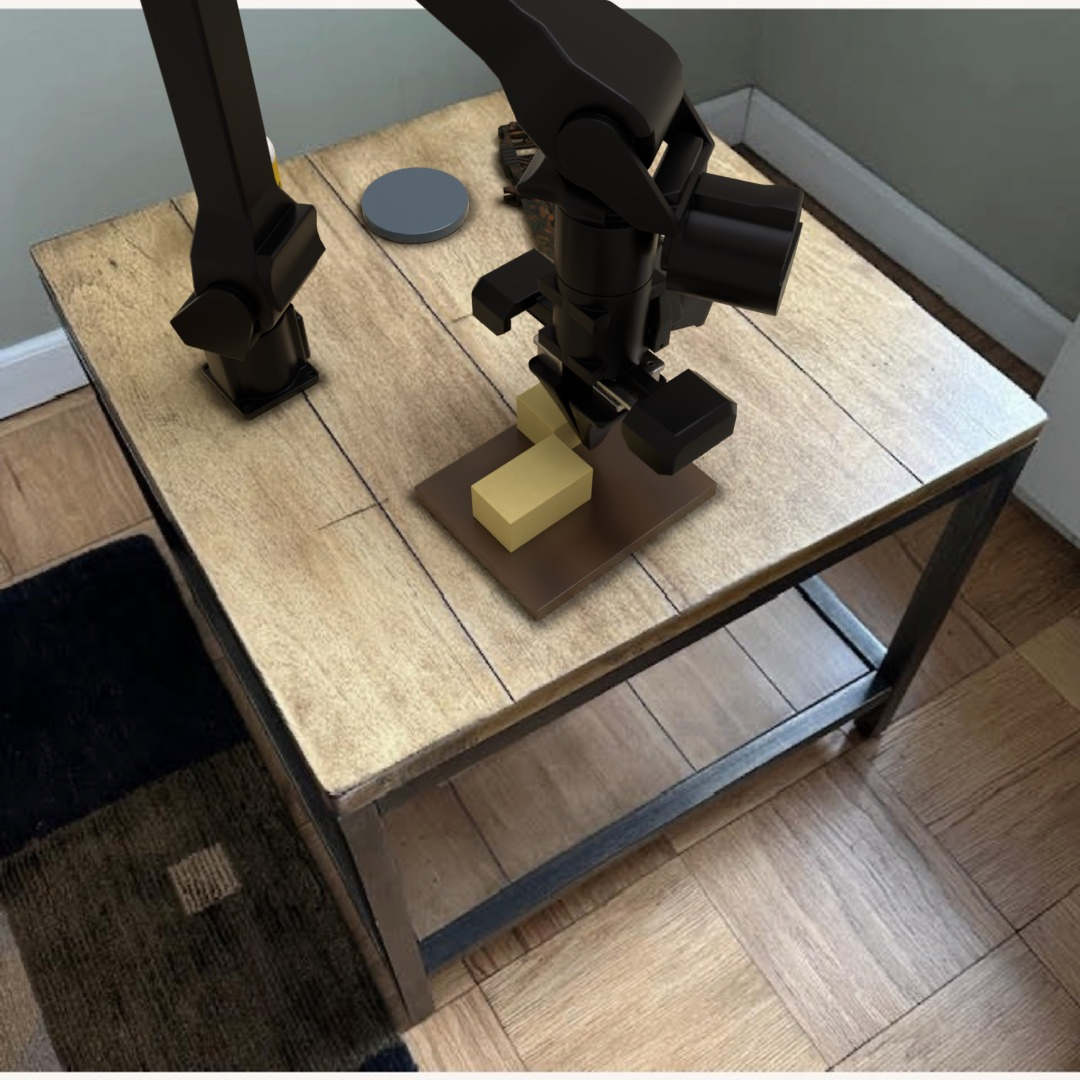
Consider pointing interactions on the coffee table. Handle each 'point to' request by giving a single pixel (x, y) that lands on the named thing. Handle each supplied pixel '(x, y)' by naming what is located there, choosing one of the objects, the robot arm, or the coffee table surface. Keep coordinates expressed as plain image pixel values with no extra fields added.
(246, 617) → the coffee table surface
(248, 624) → the coffee table surface
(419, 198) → the plate
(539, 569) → the board
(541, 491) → the butter stick
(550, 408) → the butter pat
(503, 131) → the knife
